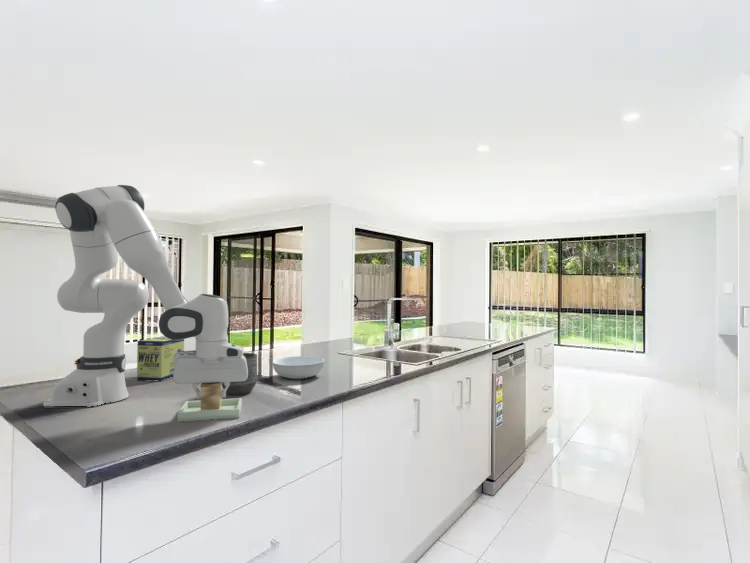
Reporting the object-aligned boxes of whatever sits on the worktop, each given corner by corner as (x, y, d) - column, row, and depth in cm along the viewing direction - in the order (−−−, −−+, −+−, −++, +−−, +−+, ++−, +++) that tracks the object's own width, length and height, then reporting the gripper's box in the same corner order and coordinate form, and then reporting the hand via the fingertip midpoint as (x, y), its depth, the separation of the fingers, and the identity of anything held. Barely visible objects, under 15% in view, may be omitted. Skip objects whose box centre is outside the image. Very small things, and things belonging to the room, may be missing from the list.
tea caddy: (200, 410, 118) (200, 384, 118) (203, 405, 123) (203, 380, 123) (219, 408, 119) (220, 383, 119) (221, 403, 124) (222, 380, 124)
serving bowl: (280, 371, 182) (280, 355, 182) (327, 372, 181) (328, 356, 181) (265, 382, 161) (265, 364, 161) (319, 383, 160) (319, 365, 160)
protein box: (136, 380, 162) (136, 340, 162) (161, 372, 177) (162, 336, 178) (161, 381, 161) (161, 341, 161) (184, 373, 176) (184, 336, 176)
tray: (177, 421, 113) (177, 413, 113) (186, 409, 125) (186, 401, 125) (239, 417, 117) (239, 409, 117) (241, 405, 129) (242, 398, 129)
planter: (261, 387, 152) (261, 352, 152) (251, 396, 140) (251, 358, 140) (227, 387, 152) (228, 352, 152) (214, 396, 140) (215, 358, 140)
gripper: (170, 352, 116) (169, 402, 115) (247, 350, 121) (247, 398, 120) (175, 349, 122) (174, 396, 122) (248, 347, 127) (248, 393, 127)
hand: (211, 397), depth 121 cm, fingers closed on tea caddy, 5 cm apart
